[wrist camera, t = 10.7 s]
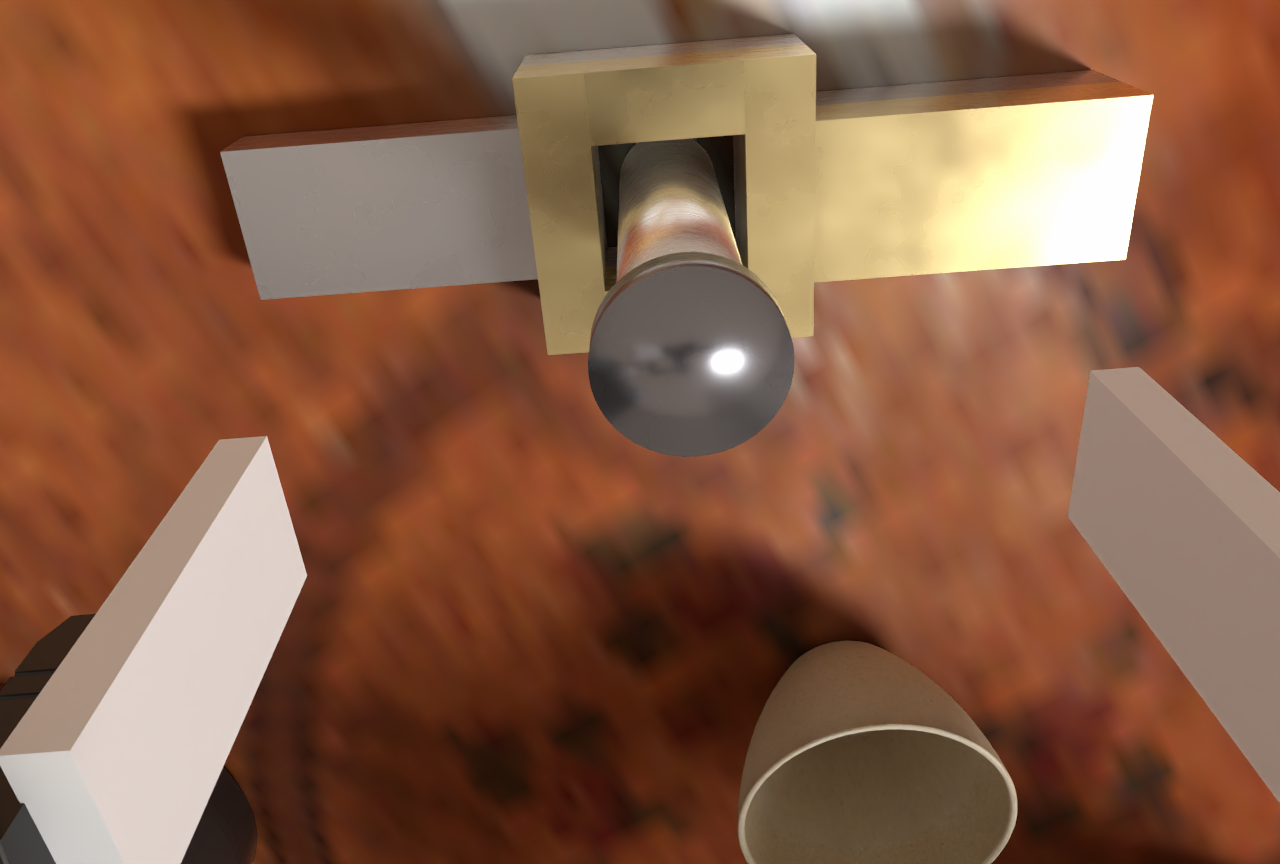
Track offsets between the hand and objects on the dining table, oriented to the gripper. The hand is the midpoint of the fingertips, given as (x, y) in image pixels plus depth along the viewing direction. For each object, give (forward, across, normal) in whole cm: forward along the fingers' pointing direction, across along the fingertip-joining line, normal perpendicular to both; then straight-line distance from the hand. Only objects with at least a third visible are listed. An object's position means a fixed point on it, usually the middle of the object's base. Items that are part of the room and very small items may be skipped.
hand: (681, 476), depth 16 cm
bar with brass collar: (+18, +1, 0) cm, 18 cm away
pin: (+18, +1, 0) cm, 18 cm away
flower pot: (+18, +7, -22) cm, 29 cm away
